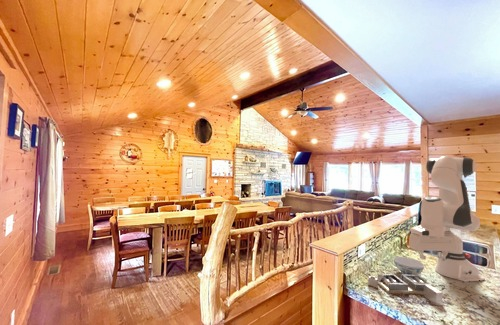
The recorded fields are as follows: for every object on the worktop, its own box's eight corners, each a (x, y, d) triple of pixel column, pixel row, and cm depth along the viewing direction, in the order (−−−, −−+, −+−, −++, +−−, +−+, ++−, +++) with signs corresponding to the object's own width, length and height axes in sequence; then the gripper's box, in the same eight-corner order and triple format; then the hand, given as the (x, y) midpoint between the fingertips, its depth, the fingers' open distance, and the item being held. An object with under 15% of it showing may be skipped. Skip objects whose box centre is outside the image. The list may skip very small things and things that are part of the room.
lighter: (368, 285, 116) (368, 270, 116) (369, 283, 117) (369, 269, 117) (383, 290, 111) (383, 274, 111) (384, 289, 112) (384, 273, 112)
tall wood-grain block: (429, 296, 106) (429, 284, 106) (442, 305, 99) (442, 292, 99) (424, 296, 106) (424, 284, 106) (436, 305, 99) (436, 292, 99)
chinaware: (387, 270, 133) (387, 258, 133) (403, 267, 138) (403, 255, 138) (413, 283, 119) (413, 269, 119) (430, 278, 124) (430, 265, 124)
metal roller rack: (419, 283, 119) (419, 274, 119) (435, 294, 108) (435, 285, 108) (376, 281, 119) (376, 273, 119) (388, 292, 109) (388, 284, 109)
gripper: (448, 229, 107) (448, 257, 106) (406, 228, 107) (407, 256, 107) (460, 233, 100) (460, 262, 100) (416, 231, 101) (416, 261, 100)
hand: (432, 259), depth 103 cm, fingers open, 8 cm apart
